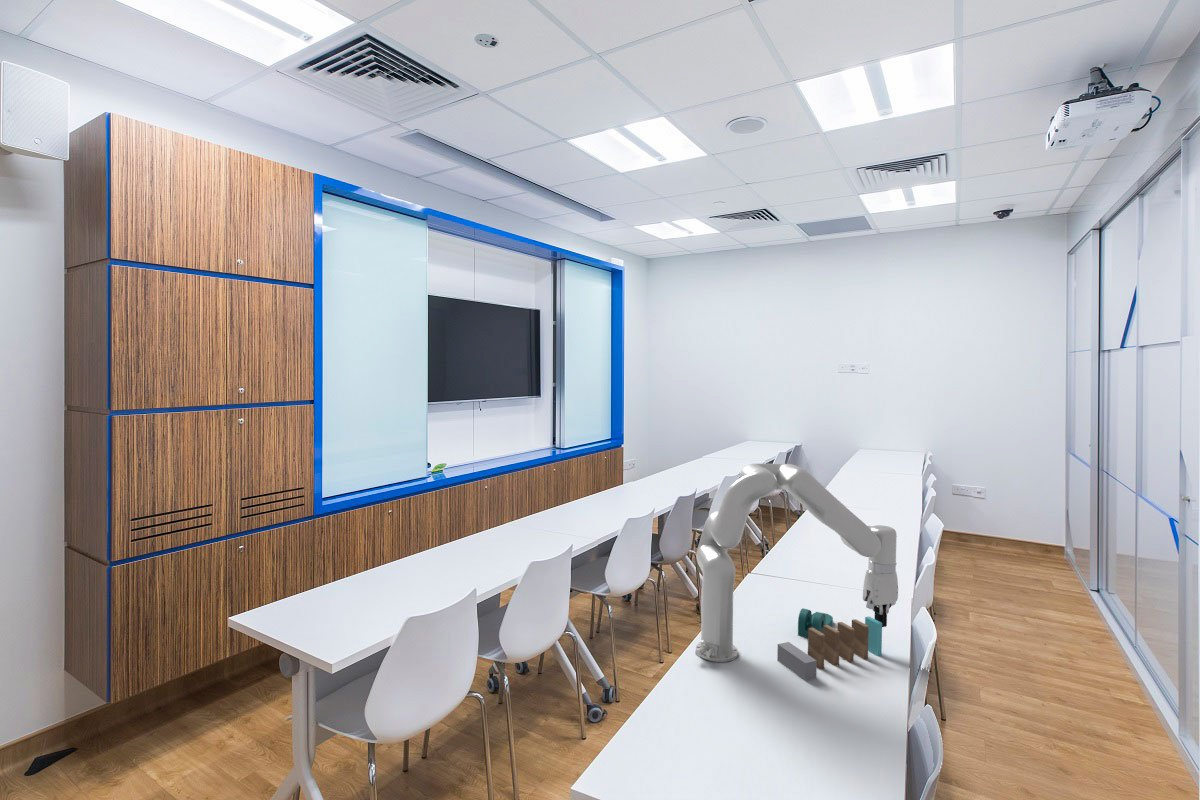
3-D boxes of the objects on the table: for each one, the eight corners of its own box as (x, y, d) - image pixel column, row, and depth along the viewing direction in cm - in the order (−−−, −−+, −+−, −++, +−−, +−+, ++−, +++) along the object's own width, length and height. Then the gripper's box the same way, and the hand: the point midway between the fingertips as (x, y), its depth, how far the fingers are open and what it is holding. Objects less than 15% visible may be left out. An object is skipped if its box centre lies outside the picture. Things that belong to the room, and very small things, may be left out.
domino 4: (855, 650, 178) (855, 619, 177) (867, 658, 173) (868, 625, 172) (851, 651, 177) (851, 620, 177) (863, 659, 172) (864, 626, 172)
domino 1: (812, 660, 172) (812, 627, 171) (823, 668, 167) (824, 634, 167) (807, 661, 171) (808, 628, 171) (819, 669, 167) (820, 635, 166)
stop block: (788, 658, 173) (788, 641, 173) (816, 677, 162) (816, 660, 162) (777, 660, 172) (777, 644, 172) (804, 680, 161) (805, 663, 160)
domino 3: (841, 653, 176) (841, 621, 175) (853, 661, 171) (854, 628, 171) (836, 654, 175) (837, 622, 175) (849, 662, 171) (850, 629, 170)
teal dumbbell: (818, 641, 184) (819, 617, 184) (797, 635, 188) (798, 612, 188) (835, 622, 198) (835, 599, 198) (815, 617, 203) (815, 595, 202)
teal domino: (868, 647, 180) (869, 616, 179) (881, 655, 175) (882, 622, 175) (864, 648, 179) (865, 617, 179) (877, 656, 174) (878, 623, 174)
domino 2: (826, 657, 174) (827, 624, 173) (839, 665, 169) (839, 631, 169) (822, 658, 173) (823, 625, 173) (834, 666, 169) (835, 632, 168)
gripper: (890, 560, 183) (888, 616, 184) (853, 565, 178) (852, 624, 178) (910, 567, 176) (908, 626, 177) (873, 573, 171) (871, 634, 171)
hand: (880, 625), depth 178 cm, fingers closed
